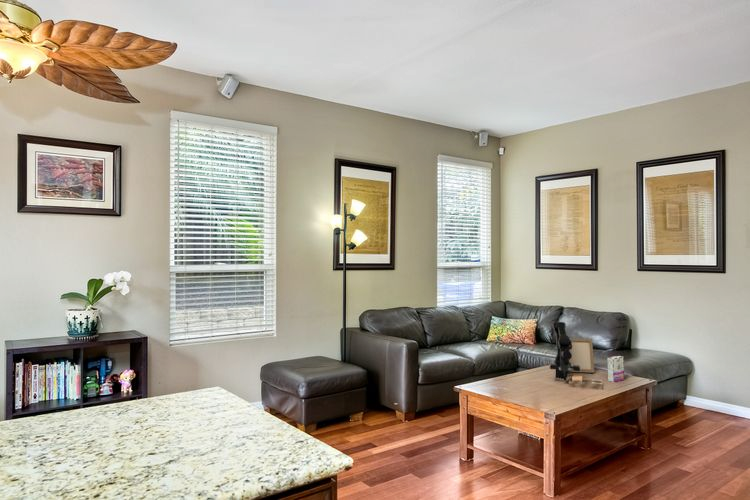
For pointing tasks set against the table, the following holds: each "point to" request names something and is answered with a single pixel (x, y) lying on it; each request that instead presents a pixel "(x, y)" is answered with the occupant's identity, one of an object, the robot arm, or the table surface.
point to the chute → (586, 383)
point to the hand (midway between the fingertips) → (565, 380)
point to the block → (577, 377)
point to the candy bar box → (615, 368)
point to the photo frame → (582, 354)
